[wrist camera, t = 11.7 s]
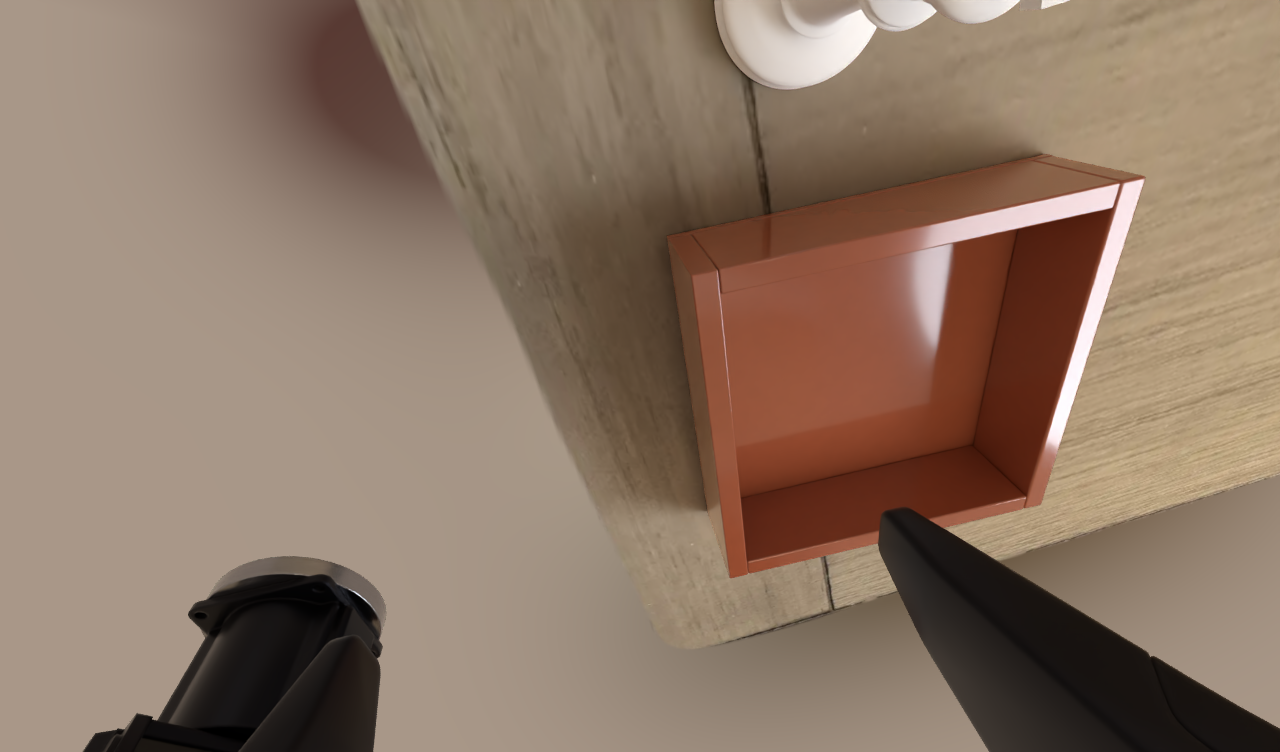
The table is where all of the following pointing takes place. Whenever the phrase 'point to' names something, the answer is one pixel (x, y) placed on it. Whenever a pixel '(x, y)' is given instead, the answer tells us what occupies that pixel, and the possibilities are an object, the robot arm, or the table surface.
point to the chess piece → (829, 31)
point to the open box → (893, 351)
